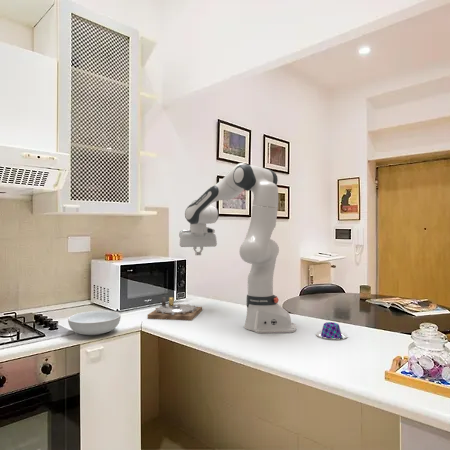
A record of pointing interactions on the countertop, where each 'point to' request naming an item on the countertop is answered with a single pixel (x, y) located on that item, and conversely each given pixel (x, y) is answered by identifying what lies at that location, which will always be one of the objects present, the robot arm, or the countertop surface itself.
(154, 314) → the index board
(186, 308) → the sprocket
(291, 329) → the robot arm
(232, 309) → the countertop surface
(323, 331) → the purple domed brimmed piece
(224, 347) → the countertop surface
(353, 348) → the countertop surface
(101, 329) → the serving bowl
